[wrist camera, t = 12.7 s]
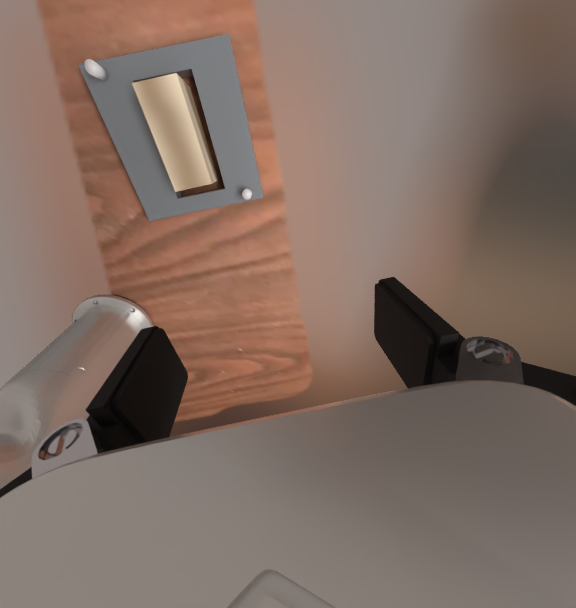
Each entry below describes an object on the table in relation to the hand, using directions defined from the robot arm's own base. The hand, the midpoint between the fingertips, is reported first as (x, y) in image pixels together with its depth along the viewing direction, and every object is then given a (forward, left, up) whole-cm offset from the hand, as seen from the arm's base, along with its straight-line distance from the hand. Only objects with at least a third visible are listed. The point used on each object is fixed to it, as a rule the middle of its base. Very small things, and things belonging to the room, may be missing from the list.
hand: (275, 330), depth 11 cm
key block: (+10, +8, -31) cm, 33 cm away
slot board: (+10, +8, -30) cm, 33 cm away
